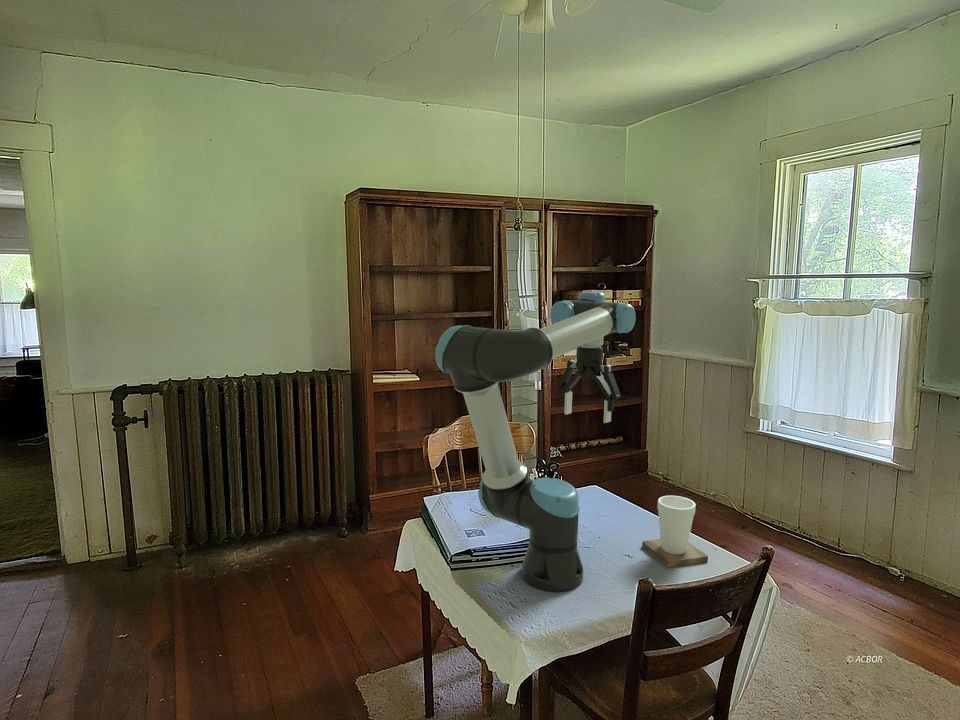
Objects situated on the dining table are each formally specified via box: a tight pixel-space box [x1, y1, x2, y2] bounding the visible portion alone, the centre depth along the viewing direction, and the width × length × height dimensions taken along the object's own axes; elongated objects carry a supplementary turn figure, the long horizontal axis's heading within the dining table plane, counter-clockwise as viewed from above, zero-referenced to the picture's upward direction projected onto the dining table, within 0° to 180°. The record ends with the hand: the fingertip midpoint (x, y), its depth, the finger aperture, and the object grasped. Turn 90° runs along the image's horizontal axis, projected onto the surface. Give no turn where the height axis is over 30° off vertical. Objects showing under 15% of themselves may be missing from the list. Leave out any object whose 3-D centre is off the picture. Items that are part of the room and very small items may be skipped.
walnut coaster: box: [641, 538, 709, 569], centre depth 160 cm, size 12×12×2 cm
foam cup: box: [657, 495, 697, 554], centre depth 159 cm, size 10×9×13 cm
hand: (587, 417), depth 176 cm, fingers open, 13 cm apart
